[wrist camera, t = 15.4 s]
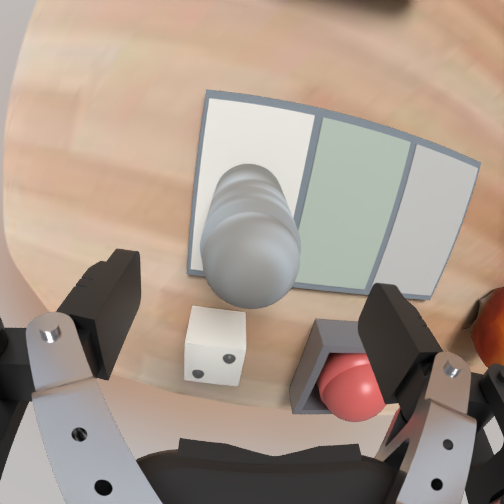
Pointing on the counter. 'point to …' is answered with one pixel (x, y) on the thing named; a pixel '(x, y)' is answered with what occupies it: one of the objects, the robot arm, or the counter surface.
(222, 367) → the die
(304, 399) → the gray square tray
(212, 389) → the counter surface
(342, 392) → the dome
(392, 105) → the counter surface
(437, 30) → the counter surface
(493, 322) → the fruit
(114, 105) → the counter surface
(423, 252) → the game board
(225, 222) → the ridged rounded cylinder
